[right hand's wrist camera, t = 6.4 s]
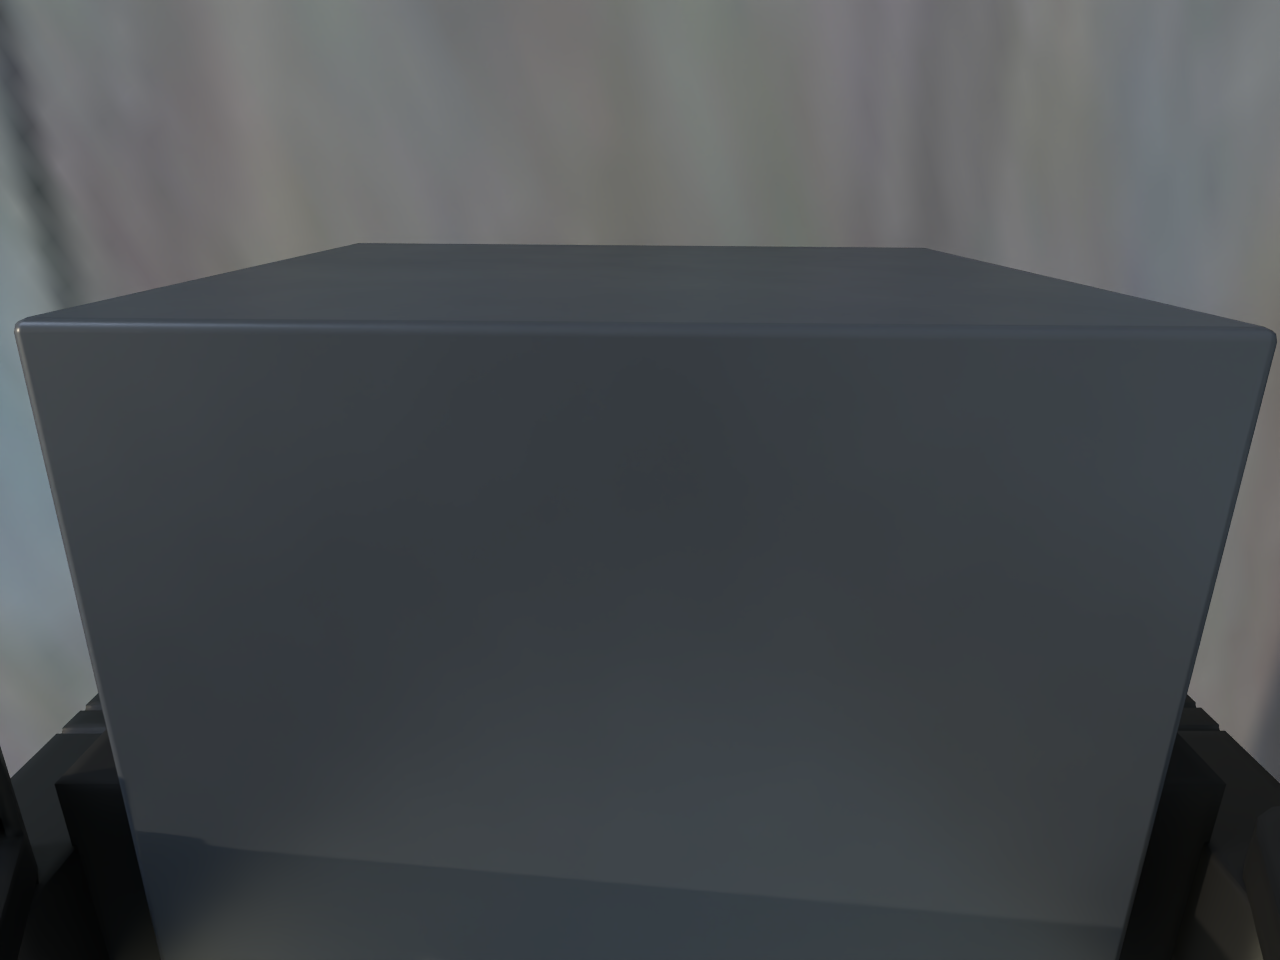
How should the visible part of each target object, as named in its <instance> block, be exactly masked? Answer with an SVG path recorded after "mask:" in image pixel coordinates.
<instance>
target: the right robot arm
mask: <svg viewBox="0 0 1280 960" xmlns="http://www.w3.org/2000/svg"><path fill="white" fill-rule="evenodd" d="M1195 703H1196V702H1195V701H1194V700H1193V699H1191V698H1190V697H1189V696H1188V695H1186V699H1185V703H1184V707H1183V711H1182V715H1181V719H1180V723H1179V727H1178V731H1177V735H1176V738H1175V742H1174V746H1173V750H1172V754H1171V758H1170V762H1169V766H1168V770H1167V774H1166V777H1165V781H1164V785H1163V789H1162V793H1161V797H1160V801H1159V805H1158V809H1157V813H1156V817H1155V820H1154V824H1153V828H1152V832H1151V836H1150V840H1149V844H1148V848H1147V852H1146V856H1145V860H1144V863H1143V867H1142V871H1141V875H1140V879H1139V883H1138V887H1137V891H1136V895H1135V899H1134V903H1133V906H1132V910H1131V914H1130V918H1129V922H1128V926H1127V930H1126V934H1125V938H1124V942H1123V945H1122V949H1121V953H1120V957H1119V960H1280V783H1279V782H1278V781H1277V780H1276V779H1275V778H1273V777H1272V776H1271V775H1270V774H1269V773H1268V772H1267V771H1266V770H1265V769H1264V768H1263V767H1262V766H1261V765H1260V764H1259V763H1258V762H1257V761H1256V760H1255V759H1254V758H1253V757H1252V756H1251V755H1250V754H1249V753H1248V752H1246V751H1245V750H1244V749H1243V748H1242V747H1241V746H1240V745H1239V744H1238V743H1237V742H1236V741H1235V740H1234V739H1233V738H1232V737H1231V736H1230V735H1229V734H1228V733H1227V732H1226V731H1220V730H1219V725H1218V724H1217V723H1216V722H1215V721H1214V720H1213V719H1212V718H1211V717H1210V716H1209V715H1208V714H1207V713H1206V712H1205V711H1204V710H1203V709H1202V708H1196V705H1195ZM0 960H161V958H160V954H159V949H158V945H157V941H156V937H155V932H154V928H153V924H152V920H151V915H150V911H149V907H148V902H147V898H146V894H145V890H144V885H143V881H142V877H141V873H140V868H139V864H138V860H137V855H136V851H135V847H134V843H133V838H132V834H131V830H130V826H129V821H128V817H127V813H126V808H125V804H124V800H123V796H122V791H121V787H120V783H119V779H118V774H117V770H116V766H115V761H114V757H113V753H112V749H111V744H110V740H109V736H108V732H107V727H106V723H105V719H104V714H103V710H102V706H101V702H100V697H99V693H98V694H97V695H96V696H95V697H94V698H93V699H92V700H91V701H90V702H89V703H88V704H87V705H86V709H85V711H80V712H79V713H77V714H76V715H75V716H74V717H73V718H72V719H71V720H70V721H69V722H68V723H67V724H66V725H65V726H64V727H63V731H62V734H56V735H55V736H54V737H53V738H52V739H51V740H50V741H49V742H48V743H47V744H46V745H45V746H43V747H42V748H41V749H40V750H39V751H38V752H37V753H36V754H35V755H34V756H33V757H32V758H31V759H30V760H29V761H28V762H27V763H26V764H25V765H24V766H23V767H22V768H21V769H20V770H19V771H18V772H17V773H16V774H15V775H14V776H13V777H12V778H11V779H10V776H9V773H8V770H7V767H6V763H5V760H4V757H3V754H2V750H1V747H0Z"/></svg>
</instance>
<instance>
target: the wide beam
mask: <svg viewBox="0 0 1280 960" xmlns="http://www.w3.org/2000/svg"><path fill="white" fill-rule="evenodd" d="M14 334H15V338H16V343H17V347H18V351H19V356H20V360H21V364H22V368H23V373H24V377H25V381H26V385H27V390H28V394H29V398H30V403H31V407H32V411H33V415H34V420H35V424H36V428H37V432H38V437H39V441H40V445H41V450H42V454H43V458H44V462H45V467H46V471H47V475H48V479H49V484H50V488H51V492H52V497H53V501H54V505H55V509H56V514H57V518H58V522H59V526H60V531H61V535H62V539H63V544H64V548H65V552H66V556H67V561H68V565H69V569H70V573H71V578H72V582H73V586H74V591H75V595H76V599H77V603H78V608H79V612H80V616H81V620H82V625H83V629H84V633H85V638H86V642H87V646H88V650H89V655H90V659H91V663H92V667H93V672H94V676H95V680H96V685H97V689H98V693H99V697H100V702H101V706H102V710H103V714H104V719H105V723H106V727H107V732H108V736H109V740H110V744H111V749H112V753H113V757H114V761H115V766H116V770H117V774H118V779H119V783H120V787H121V791H122V796H123V800H124V804H125V808H126V813H127V817H128V821H129V826H130V830H131V834H132V838H133V843H134V847H135V851H136V855H137V860H138V864H139V868H140V873H141V877H142V881H143V885H144V890H145V894H146V898H147V902H148V907H149V911H150V915H151V920H152V924H153V928H154V932H155V937H156V941H157V945H158V949H159V954H160V958H161V960H1119V957H1120V953H1121V949H1122V945H1123V942H1124V938H1125V934H1126V930H1127V926H1128V922H1129V918H1130V914H1131V910H1132V906H1133V903H1134V899H1135V895H1136V891H1137V887H1138V883H1139V879H1140V875H1141V871H1142V867H1143V863H1144V860H1145V856H1146V852H1147V848H1148V844H1149V840H1150V836H1151V832H1152V828H1153V824H1154V820H1155V817H1156V813H1157V809H1158V805H1159V801H1160V797H1161V793H1162V789H1163V785H1164V781H1165V777H1166V774H1167V770H1168V766H1169V762H1170V758H1171V754H1172V750H1173V746H1174V742H1175V738H1176V735H1177V731H1178V727H1179V723H1180V719H1181V715H1182V711H1183V707H1184V703H1185V699H1186V695H1187V692H1188V688H1189V684H1190V680H1191V676H1192V672H1193V668H1194V664H1195V660H1196V656H1197V652H1198V649H1199V645H1200V641H1201V637H1202V633H1203V629H1204V625H1205V621H1206V617H1207V613H1208V609H1209V606H1210V602H1211V598H1212V594H1213V590H1214V586H1215V582H1216V578H1217V574H1218V570H1219V566H1220V563H1221V559H1222V555H1223V551H1224V547H1225V543H1226V539H1227V535H1228V531H1229V527H1230V524H1231V520H1232V516H1233V512H1234V508H1235V504H1236V500H1237V496H1238V492H1239V488H1240V484H1241V481H1242V477H1243V473H1244V469H1245V465H1246V461H1247V457H1248V453H1249V449H1250V445H1251V441H1252V438H1253V434H1254V430H1255V426H1256V422H1257V418H1258V414H1259V410H1260V406H1261V402H1262V398H1263V395H1264V391H1265V387H1266V383H1267V379H1268V375H1269V371H1270V367H1271V363H1272V359H1273V356H1274V352H1275V348H1276V344H1277V339H1276V334H1275V333H1274V332H1273V331H1272V330H1270V329H1268V328H1265V327H1263V326H1258V325H1254V324H1250V323H1245V322H1241V321H1237V320H1232V319H1228V318H1224V317H1219V316H1215V315H1211V314H1207V313H1202V312H1198V311H1194V310H1189V309H1185V308H1181V307H1176V306H1172V305H1168V304H1163V303H1159V302H1155V301H1150V300H1146V299H1142V298H1138V297H1133V296H1129V295H1125V294H1120V293H1116V292H1112V291H1107V290H1103V289H1099V288H1094V287H1090V286H1086V285H1081V284H1077V283H1073V282H1069V281H1064V280H1060V279H1056V278H1051V277H1047V276H1043V275H1038V274H1034V273H1030V272H1025V271H1021V270H1017V269H1012V268H1008V267H1004V266H1000V265H995V264H991V263H987V262H982V261H978V260H974V259H969V258H965V257H961V256H956V255H952V254H948V253H943V252H939V251H935V250H931V249H926V248H867V247H747V246H626V245H506V244H386V243H357V244H353V245H349V246H344V247H340V248H335V249H331V250H326V251H322V252H317V253H313V254H308V255H304V256H299V257H295V258H290V259H286V260H281V261H277V262H273V263H268V264H264V265H259V266H255V267H250V268H246V269H241V270H237V271H232V272H228V273H223V274H219V275H214V276H210V277H205V278H201V279H196V280H192V281H188V282H183V283H179V284H174V285H170V286H165V287H161V288H156V289H152V290H147V291H143V292H138V293H134V294H129V295H125V296H120V297H116V298H111V299H107V300H103V301H98V302H94V303H89V304H85V305H80V306H76V307H71V308H67V309H62V310H58V311H53V312H49V313H44V314H40V315H35V316H31V317H27V318H25V319H22V320H20V321H18V322H17V323H16V324H15V330H14Z"/></svg>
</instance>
